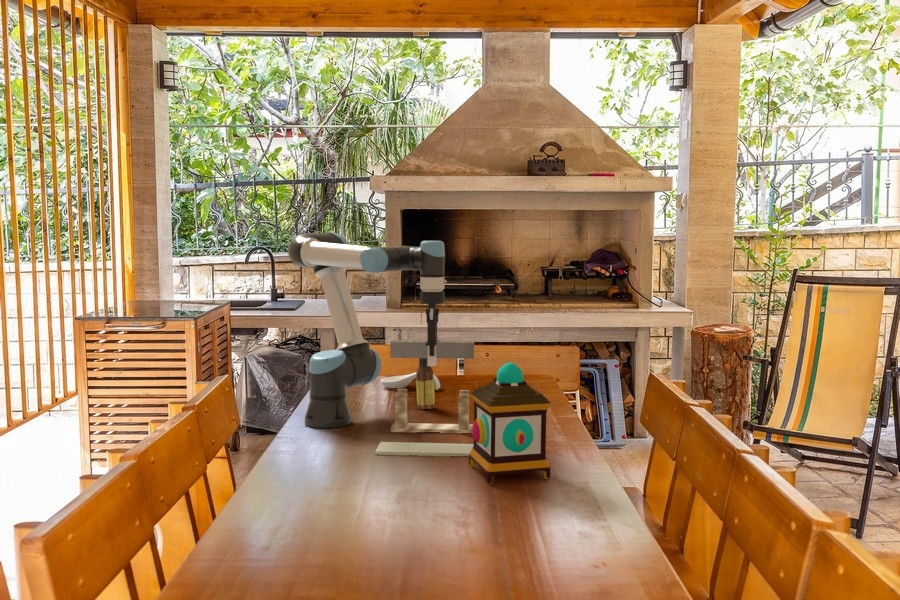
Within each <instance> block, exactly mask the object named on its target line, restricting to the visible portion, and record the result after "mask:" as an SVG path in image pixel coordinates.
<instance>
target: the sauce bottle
mask: <svg viewBox="0 0 900 600" xmlns="http://www.w3.org/2000/svg"><path fill="white" fill-rule="evenodd" d="M418 362H419V363H418V368H416V371H415V372H416V378H415V379H416V380H415V382H416V383H415V385H416V404H417V405H416V406H417V408H418V410H424V409H428V410H432V409H434V408H435V403H436V401H435V399H436V398H435V384H434V378H433V374H434V370H433V369H432V366H428V358H418Z"/></svg>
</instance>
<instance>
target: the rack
mask: <svg viewBox="0 0 900 600" xmlns="http://www.w3.org/2000/svg"><path fill="white" fill-rule="evenodd" d="M394 397H395V399H394V401H395V402H394V404H395V405H394V412H395V413H394V419H395V420H394V421H395V422H393V423H392V424H391V427H390V433H417V432H440V433H439V434H461V433H472V427H473V423H472V424H470V390H467V389H460V390H459V394H458V421H457V422H458V423H425V422H424V423H422V422H420V423H419V422H417V423H416V422H408V389H407V388H403V389H397V392H395V394H394Z"/></svg>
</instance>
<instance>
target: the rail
mask: <svg viewBox="0 0 900 600" xmlns="http://www.w3.org/2000/svg"><path fill="white" fill-rule="evenodd" d="M427 341H428V339H427V340H424V339H423V340H420V339H418V340H417V339H391V340H390V342H389V344H390V348H389V349H390V351H389V352H390V353H389V354H390V355H389V356H390V358H391V359H396V358H397V359H419V358H428V346H425V344H427ZM436 358H437V359H458V360H459V359H461V360H462V359H464V360H465V359H467V360H468V359H469V360H470V359H471V360H473V359H475V341H474V340H443V339H442V340H440V339H437V340H436Z"/></svg>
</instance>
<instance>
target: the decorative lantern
mask: <svg viewBox="0 0 900 600" xmlns="http://www.w3.org/2000/svg"><path fill="white" fill-rule="evenodd" d="M470 396H471V399H472V401H473V405H474V406H473V409H474V410H473V423H472V424H473V427H472V434H471V435H472V438H473V444H474V446H473V448H472V450H471V452H470V454H469V457H468V465H469V466H470V467H471V468H473V467H474V466H475V465H477V466H478V467H479V468H481V470H483V472H484V473H485V477H486V483H487V485H489V484H491V485H492V483H493V479H494V476H495V475H502V474H516V473H526V472H528V473H529V472H541V471H542V472H543V478H544V477H545V478H549V479H550V478H551V467H550V463H549V460H548V459H547V457H546V456H547V455H546V447H547V446H546V445H547V439H546V438H547V412H548V410H549V407H550V406H551V401H550V400H548V397H546V396H544V395H543V394H542V392H539V391H537V390H536V389H534V388H533V387H531V386H530V385H529V384H528V383H527V381H525V380H524V374H523V370H522V369H521V368H520V367H519V365H517V364H516V363H514V362H510V361H509V362H506V363H504V364H503V365H502V366H501V367H500V368H499V369H498V370H497V374H496V377H495V378H493V380H492V381H489V383H487V384H485V385H484V386H483V385H481V386H477V388H475V389H473V391H471V392H470ZM545 478H544V479H545Z"/></svg>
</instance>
